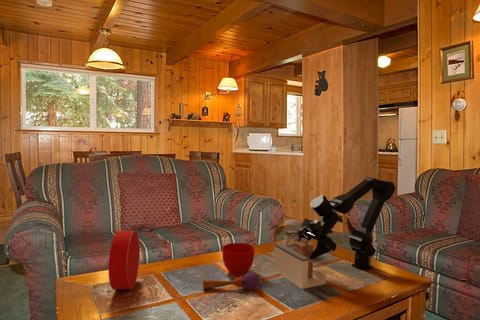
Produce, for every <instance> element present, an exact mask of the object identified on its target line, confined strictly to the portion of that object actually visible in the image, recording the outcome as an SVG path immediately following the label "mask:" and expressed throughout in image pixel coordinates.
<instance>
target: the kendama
mask: <svg viewBox="0 0 480 320" xmlns="http://www.w3.org/2000/svg"><path fill="white" fill-rule="evenodd" d="M242 276H243V275H239V277H237V278H235V279H234V280H215V279H214V280H210V279H207V280H206V279H204V280H203V281H202V290H203V291H205V290H210V289H216V288H220V287H227V286H231V285H233V286H236V287H238V288H240V289H243V287H244V288H245V289H246V290H249V291H254V290H257V288H258V287H259V284H260V278H259V276H258V275H257V273H254V272H246V274H244V276H243V277H242Z"/></svg>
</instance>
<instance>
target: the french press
mask: <svg viewBox="0 0 480 320" xmlns="http://www.w3.org/2000/svg"><path fill="white" fill-rule="evenodd" d="M291 203H293V206H292V207H293V208H292V209H293V210H292V216H294V213H295V211H294V209H295V207H294V206H295V205H294V204H295V203H296V200H295V199H291ZM284 224H285V225H287V226H289V227H290V226H291V227H299V226H302V224H303V222H301V221H300V220H298V219H294V218H292V219H288V220H285V221H284ZM298 239H299V236H298V233H297V228H296V229H295V228H289V229H285V233H284V243H283V245H284V246H286V247H288V248H290V249H292V250H294V251H295V242H298Z"/></svg>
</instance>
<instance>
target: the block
mask: <svg viewBox="0 0 480 320" xmlns="http://www.w3.org/2000/svg"><path fill="white" fill-rule="evenodd" d="M294 243H295V251H296V252H298V253H299V254H301V255H303V256H305V257H307V258H308V279H309V278H312V277H313V267H314V259H313V260H310V259H309V258H310V256H311V254H312V252H313V251H314V244H313V243H311V242H310V241H309V242H308V240H306V239H304V238H301V241H300V242H294Z"/></svg>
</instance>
